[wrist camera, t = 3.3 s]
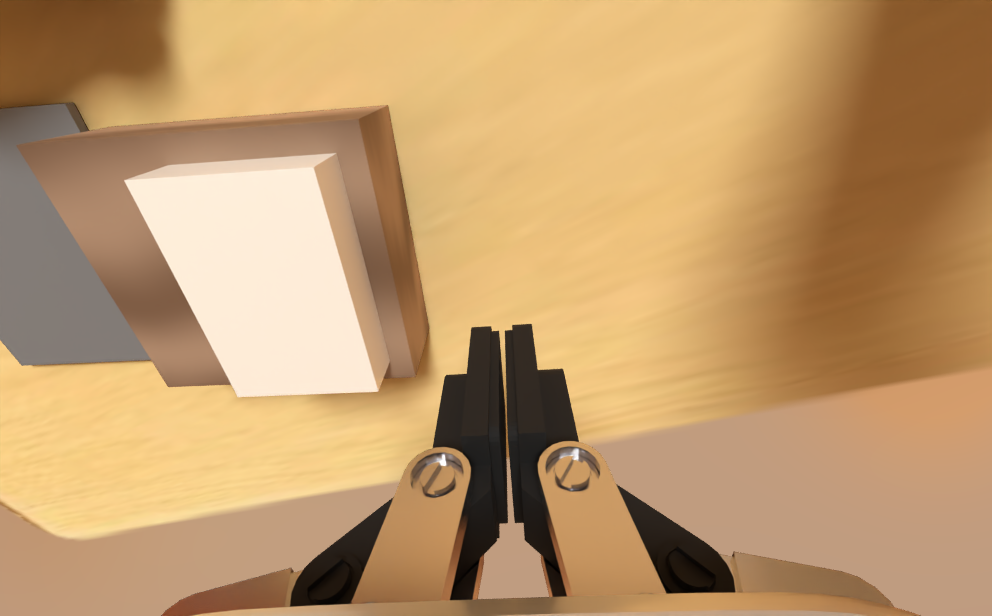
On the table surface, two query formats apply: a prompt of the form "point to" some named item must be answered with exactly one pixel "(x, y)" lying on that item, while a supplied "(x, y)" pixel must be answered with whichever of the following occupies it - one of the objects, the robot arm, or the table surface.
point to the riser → (143, 148)
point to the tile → (270, 271)
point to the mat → (49, 261)
